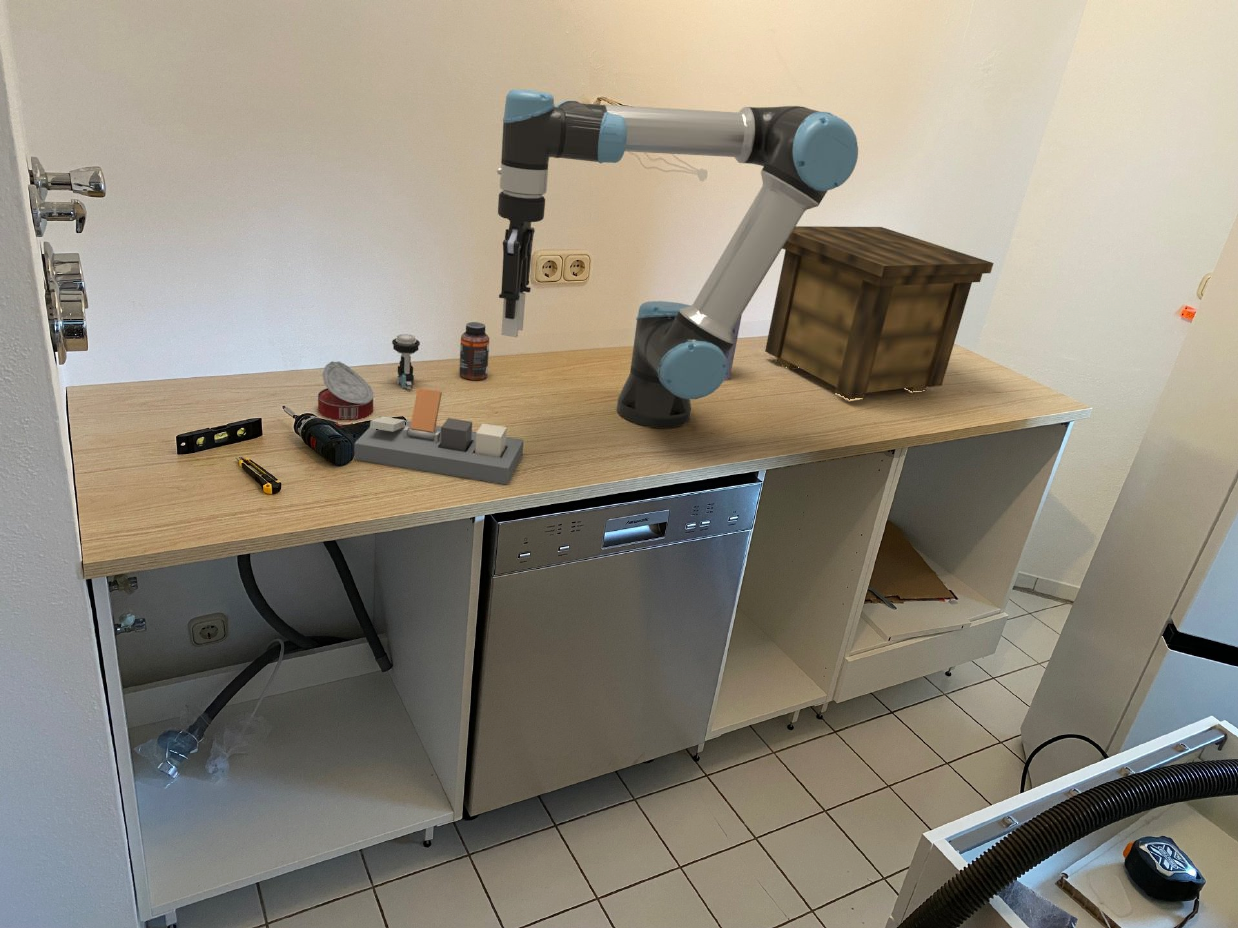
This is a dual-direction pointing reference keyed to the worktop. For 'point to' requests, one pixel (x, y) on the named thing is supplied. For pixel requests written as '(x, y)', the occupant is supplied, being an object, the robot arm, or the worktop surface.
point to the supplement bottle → (474, 352)
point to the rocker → (387, 424)
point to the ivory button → (490, 440)
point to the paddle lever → (425, 413)
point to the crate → (869, 307)
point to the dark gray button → (456, 434)
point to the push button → (405, 358)
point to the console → (437, 455)
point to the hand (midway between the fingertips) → (512, 331)
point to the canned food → (344, 394)
